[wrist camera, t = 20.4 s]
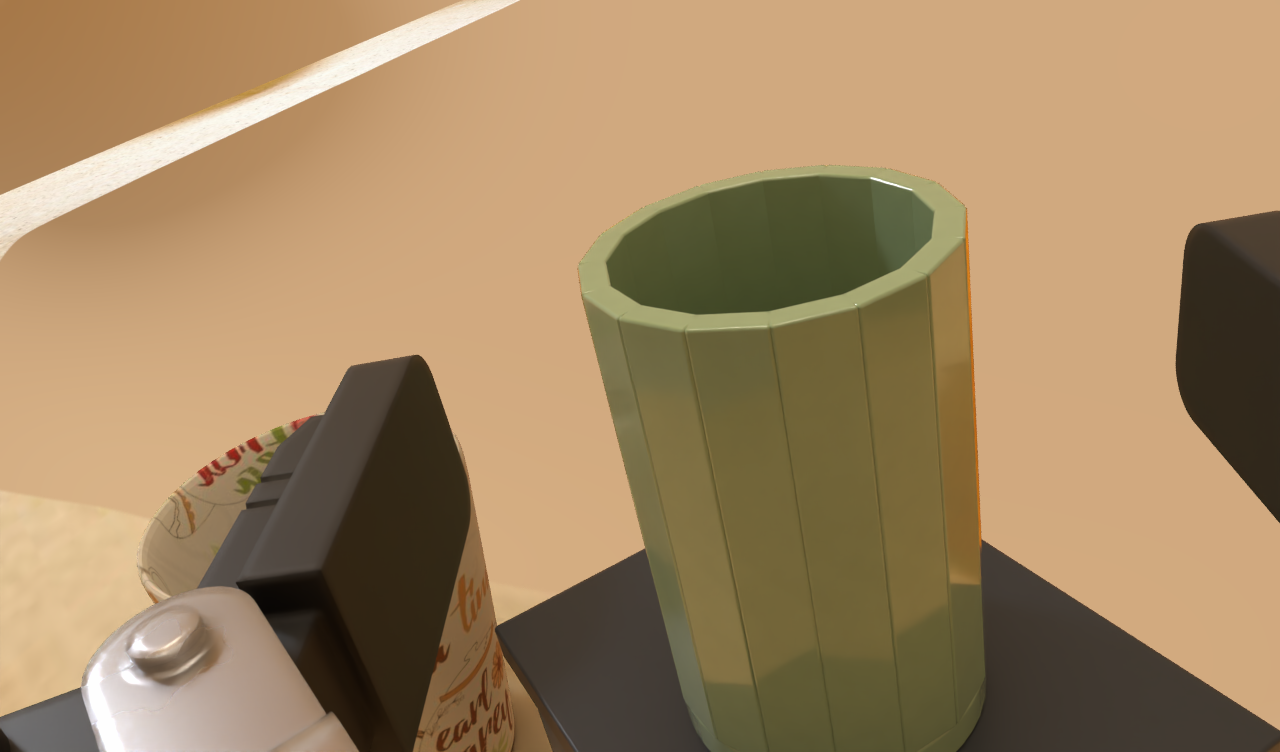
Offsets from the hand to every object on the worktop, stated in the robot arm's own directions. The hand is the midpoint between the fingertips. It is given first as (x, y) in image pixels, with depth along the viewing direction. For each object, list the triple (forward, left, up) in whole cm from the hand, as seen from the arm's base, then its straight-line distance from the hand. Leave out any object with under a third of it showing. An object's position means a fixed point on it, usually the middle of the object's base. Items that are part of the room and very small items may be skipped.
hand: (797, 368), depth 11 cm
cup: (+3, +5, -11) cm, 12 cm away
